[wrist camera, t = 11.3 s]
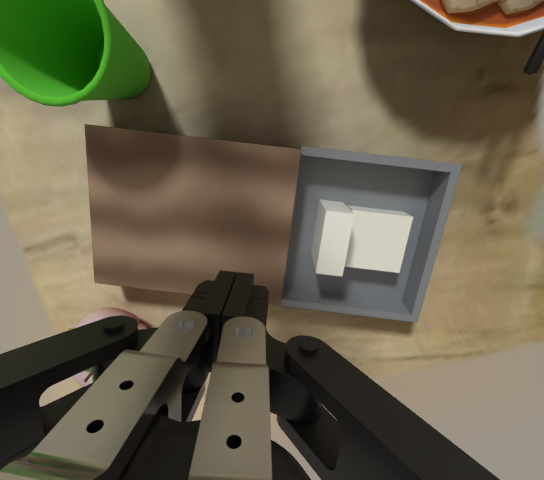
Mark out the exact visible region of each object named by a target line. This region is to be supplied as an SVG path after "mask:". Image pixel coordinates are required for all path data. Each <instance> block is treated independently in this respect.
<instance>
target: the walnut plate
mask: <svg viewBox="0 0 544 480" xmlns="http://www.w3.org/2000/svg"><path fill="white" fill-rule="evenodd" d="M85 137H86V153H87V169H88V185H89V201H90V216H91V232H92V248H93V264H94V279H95V283H100V284H108V285H116V286H125V287H133V288H141V289H149V290H157V291H165V292H174V293H182V294H190V295H192V294H193V292H194V291H195V289H196V287H197V286H198V285H199V284H200V283H202V282H204V281H205V280H212V281H215V279H216V277H217V275H218V273H219V271H220V270H222V271H232V272H237V273H238V272H242V273H251V274H254V285H260V286H265V287H266V288H267V290H268V291H269V301H268V304H272V305H280V306H281V298H282V291H283V283H284V276H285V268H286V261H287V253H288V246H289V238H290V231H291V223H292V216H293V208H294V201H295V193H296V186H297V178H298V171H299V163H300V156H301V149H295V148H286V147H277V146H269V145H260V144H251V143H243V142H234V141H226V140H217V139H208V138H200V137H191V136H182V135H174V134H165V133H157V132H148V131H139V130H131V129H122V128H114V127H105V126H96V125H87V124H85Z"/></svg>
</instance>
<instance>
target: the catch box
mask: <svg viewBox="0 0 544 480" xmlns="http://www.w3.org/2000/svg"><path fill="white" fill-rule="evenodd" d="M300 149H301V156H300V163H299V171H298V178H297V186H296V193H295V201H294V208H293V216H292V223H291V231H290V238H289V246H288V253H287V261H286V268H285V276H284V283H283V291H282V298H281V306H286V307H295V308H303V309H311V310H319V311H327V312H335V313H344V314H352V315H360V316H368V317H376V318H385V319H393V320H401V321H409V322H417V321H418V318H419V314H420V311H421V307H422V304H423V300H424V297H425V293H426V290H427V286H428V283H429V279H430V276H431V272H432V269H433V265H434V262H435V258H436V255H437V251H438V247H439V244H440V240H441V237H442V233H443V230H444V226H445V223H446V219H447V216H448V212H449V209H450V205H451V202H452V198H453V195H454V191H455V188H456V184H457V181H458V177H459V174H460V170H461V166H462V165H461V164H453V163H444V162H435V161H427V160H418V159H410V158H401V157H392V156H384V155H375V154H366V153H358V152H349V151H340V150H332V149H323V148H315V147H306V146H300ZM319 199H320V200H329V201H337V202H343V203H344V204H345V205H346V206H347V207H348V205H349V206H358V207H366V208H375V209H384V210H392V211H401V212H405V213H407V214H409V215H411V216H412V217H413V220H412V224H411V228H410V232H409V236H408V240H407V244H406V249H405V253H404V257H403V261H402V265H401V269H400V273H395V272H387V271H378V270H370V269H361V268H353V267H344V271H343V276H334V275H325V274H317V273H316V272H315V268H314V263H313V259H312V255H311V249H312V243H313V236H314V230H315V223H316V217H317V211H318V204H319Z"/></svg>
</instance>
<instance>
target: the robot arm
mask: <svg viewBox="0 0 544 480" xmlns="http://www.w3.org/2000/svg"><path fill="white" fill-rule="evenodd" d="M268 301H269V291H268V290H267V288H266V287H265V286H260V285H254V274H251V273H242V272H238V273H237V272H232V271H222V270H220V271H219V273H218V275H217V277H216V279H215V281H212V280H205V281H204V282H202V283H200V284H199V285H198V286H197V287H196V289H195V291H194V292H193V294H192V296H191V297H190V299H189V300H188V302H187V304H186V305H185V307H184V309H183V310H182V311H180V312H176V313H174V314H171V315H170V316H168V317H167V318H166V319H165V321H164V322H163V323H162V324H161V325H160V327H158V328H150V329H139V330H138V322H137V321H136V320H135V319H134V318H132V317H129V316H122V315H119V316H111V317H107V318H103V319H100V320H98V321H95V322H92V323H89V324H86V325H83V326H80V327H77V328H74V329H72V330H69V331H66V332H63V333H60V334H57V335H54V336H51V337H49V338H46V339H43V340H40V341H37V342H34V343H31V344H29V345H26V346H23V347H20V348H17V349H14V350H11V351H8V352H5V353H2V354H0V480H311V479H310V478H309V476H308V475H307V474H306V472H305V471H304V470H303V468H302V467H301V465H300V464H299V463H298V461H297V460H296V459H295V458H294V457H293V456H292V455H291V454H290V453H289V452H288V451H287V450H286V449H284V448H283V447H282V446H280V445H279V444H277V443H276V442H274V441H272V440H271V430H270V429H271V428H270V412H271V413H274V414H277V421H278V424H279V426H280V427H281V429H282V430H283V431H284V433H285V434H286V435H287V436H288V438H289V439H290V440H291V442H292V443H293V444H294V445H295V447H296V448H297V449H298V450H299V452H300V453H301V454H302V456H303V457H304V458H305V459H306V461H307V462H308V463H309V464H310V466H311V467H312V468H313V470H314V471H315V472H316V473H317V475H318V476H319V477H320V478H321V480H499V479H498V478H497V477H496V476H494V475H493V474H492V473H491V472H489V471H488V470H487V469H485V468H484V467H483V466H481V465H480V464H479V463H478V462H476V461H475V460H474V459H473V458H471V457H470V456H469V455H468V454H466V453H465V452H464V451H462V450H461V449H460V448H458V447H457V446H456V445H455V444H453V443H452V442H451V441H450V440H448V439H447V438H446V437H445V436H443V435H442V434H440V433H439V432H438V431H437V430H436V429H434V428H433V427H432V426H430V425H429V424H428V423H426V422H425V421H424V420H423V419H421V418H420V417H419V416H418V415H416V414H415V413H414V412H413V411H411V410H410V409H409V408H407V407H406V406H405V405H404V404H402V403H401V402H400V401H398V400H397V399H396V398H395V397H393V396H392V395H391V394H390V393H388V392H387V391H386V390H384V389H383V388H382V387H381V386H379V385H378V384H377V383H375V382H374V381H373V380H372V379H370V378H369V377H368V376H367V375H365V374H364V373H363V372H361V371H360V370H359V369H358V368H356V367H355V366H354V365H352V364H351V363H350V362H349V361H347V360H346V359H345V358H343V357H342V356H341V355H340V354H338V353H337V352H336V351H335V350H333V349H332V348H331V347H329V346H328V345H327V344H326V343H324V342H323V341H321V340H319V339H317V338H315V337H311V336H296V337H293V338H291V339H290V340H289V341H288V342H287V343H283V342H281V341H278V340H276V339H274V338H273V337H271V336H270V335H269V333H268V332H267V330H266V320H267V310H268ZM89 368H92V373H93V383H91V384H89V385H87V386H85V387H83V388H80V389H78V390H76V391H74V392H72V393H70V394H68V395H66V396H64V397H62V398H60V399H58V400H56V401H53V402H52V403H49V404H47V405H45V406H43V407H40V406H39V399H40V396H41V395H42V393H43V392H44V391H45V390H46V389H47V388H48V387H50V386H52V385H54V384H56V383H58V382H60V381H62V380H65V379H67V378H69V377H71V376H74V375H76V374H78V373H80V372H83V371H85V370H87V369H89ZM209 372H211V375H210V380H209V384H208V389H207V394H206V398H205V403H204V408H203V412H202V418H201V420H197V421H192V419H193V417H194V414H195V412H196V410H197V407H198V405H199V403H200V400H201V398H202V396H203V393H204V391H205V381H206V379H207V376H208V373H209ZM322 405H323V406H324V407H325V408H326V409H327V410H328V411H329V412H330V413H331V414H332V415H333V416H334V417H335V418H336V419H337V420H336V419H335V418H334V417H333V416H332V415H331V414H330V413H329V412H328V411H327V410H326V409H325V408H324V407H323V406H322Z"/></svg>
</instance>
